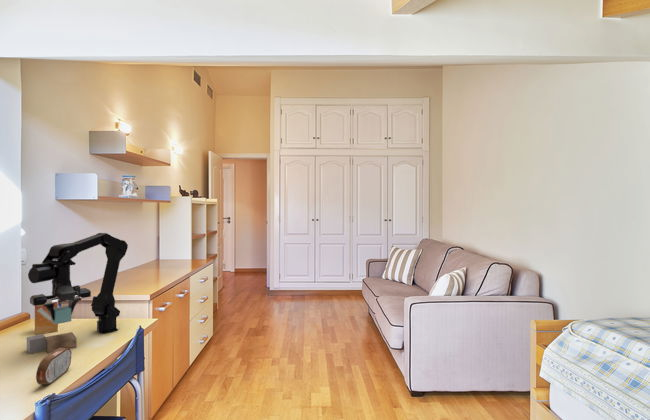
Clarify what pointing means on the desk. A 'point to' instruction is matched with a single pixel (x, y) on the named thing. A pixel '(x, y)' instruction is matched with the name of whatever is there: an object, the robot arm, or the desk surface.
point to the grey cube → (36, 343)
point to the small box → (44, 319)
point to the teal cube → (62, 315)
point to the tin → (53, 366)
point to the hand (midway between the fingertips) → (61, 318)
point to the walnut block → (60, 342)
